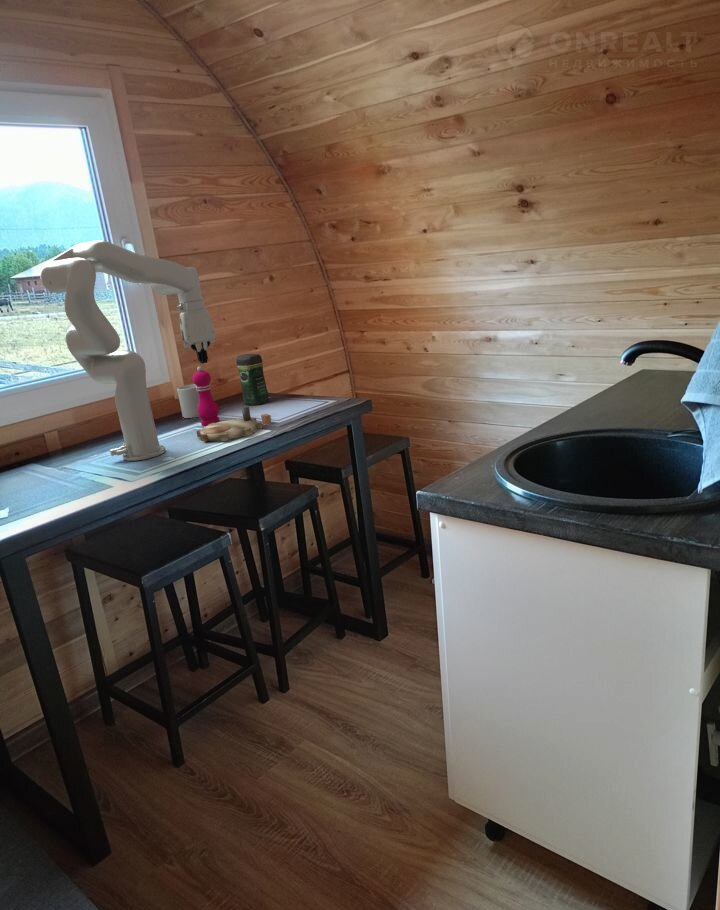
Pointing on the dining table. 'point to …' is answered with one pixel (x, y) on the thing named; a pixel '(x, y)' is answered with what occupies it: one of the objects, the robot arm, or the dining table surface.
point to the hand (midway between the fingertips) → (203, 362)
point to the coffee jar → (252, 379)
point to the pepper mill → (205, 398)
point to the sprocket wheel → (230, 428)
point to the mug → (188, 400)
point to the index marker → (266, 419)
